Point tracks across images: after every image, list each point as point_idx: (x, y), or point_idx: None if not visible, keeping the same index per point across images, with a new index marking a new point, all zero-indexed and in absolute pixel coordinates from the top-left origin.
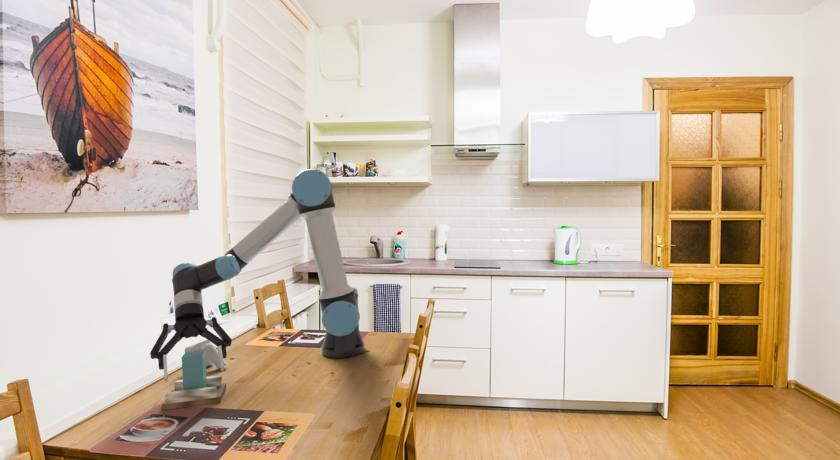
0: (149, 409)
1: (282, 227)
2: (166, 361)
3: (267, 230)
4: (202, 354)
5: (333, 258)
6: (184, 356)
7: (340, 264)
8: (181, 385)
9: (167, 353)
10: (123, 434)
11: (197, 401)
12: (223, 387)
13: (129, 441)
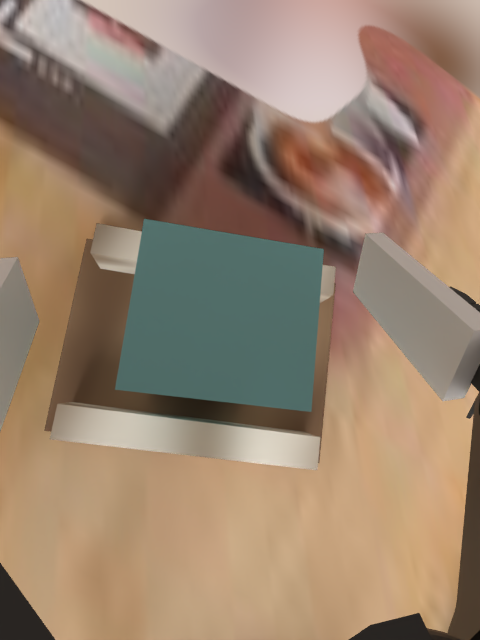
0: (375, 324)
1: None
2: (430, 289)
3: None
4: (141, 242)
5: None
6: (303, 267)
7: None
8: (279, 430)
9: (473, 439)
10: (410, 144)
11: None
12: (62, 364)
13: (379, 83)
